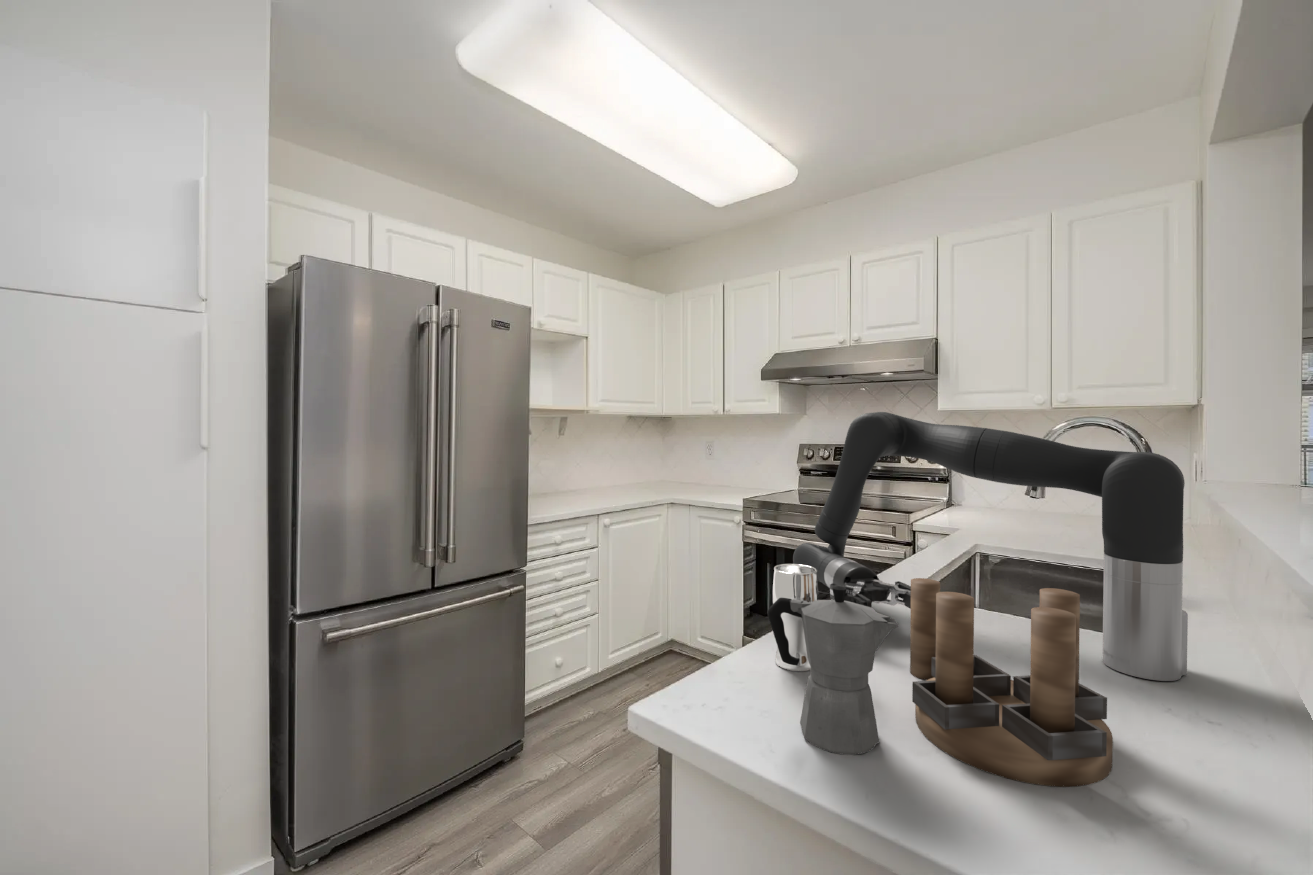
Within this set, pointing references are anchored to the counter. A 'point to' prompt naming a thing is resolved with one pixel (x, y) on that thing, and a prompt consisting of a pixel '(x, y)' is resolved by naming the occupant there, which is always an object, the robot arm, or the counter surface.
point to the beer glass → (799, 586)
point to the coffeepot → (836, 669)
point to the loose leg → (923, 626)
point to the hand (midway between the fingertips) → (894, 606)
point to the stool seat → (1016, 699)
